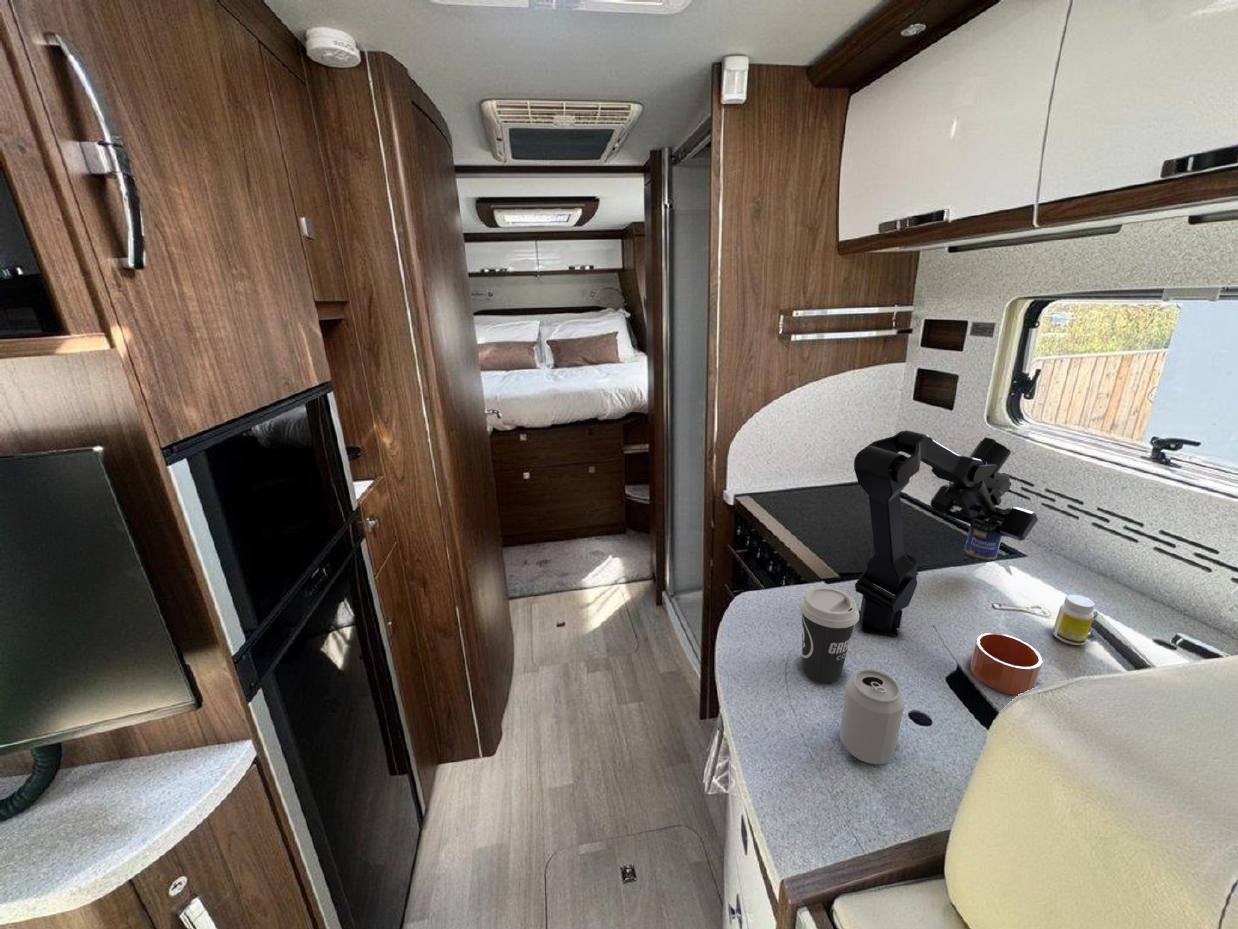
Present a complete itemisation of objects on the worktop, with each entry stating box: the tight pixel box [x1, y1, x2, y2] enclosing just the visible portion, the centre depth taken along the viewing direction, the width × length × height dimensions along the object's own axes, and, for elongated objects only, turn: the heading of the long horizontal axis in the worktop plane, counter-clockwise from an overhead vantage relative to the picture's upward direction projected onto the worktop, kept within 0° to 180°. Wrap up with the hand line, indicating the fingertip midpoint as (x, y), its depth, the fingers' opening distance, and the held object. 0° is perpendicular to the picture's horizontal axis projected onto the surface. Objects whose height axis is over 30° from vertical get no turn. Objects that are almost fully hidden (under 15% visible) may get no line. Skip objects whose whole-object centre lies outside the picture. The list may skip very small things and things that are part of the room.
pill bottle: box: [963, 517, 1003, 563], centre depth 112 cm, size 6×6×11 cm
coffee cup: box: [798, 586, 860, 685], centre depth 87 cm, size 10×10×15 cm
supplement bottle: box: [1052, 594, 1095, 646], centre depth 94 cm, size 5×5×8 cm
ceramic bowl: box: [970, 632, 1043, 696], centre depth 86 cm, size 9×9×6 cm
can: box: [839, 668, 906, 765], centre depth 73 cm, size 8×8×12 cm
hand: (989, 528), depth 112 cm, fingers closed on pill bottle, 6 cm apart
